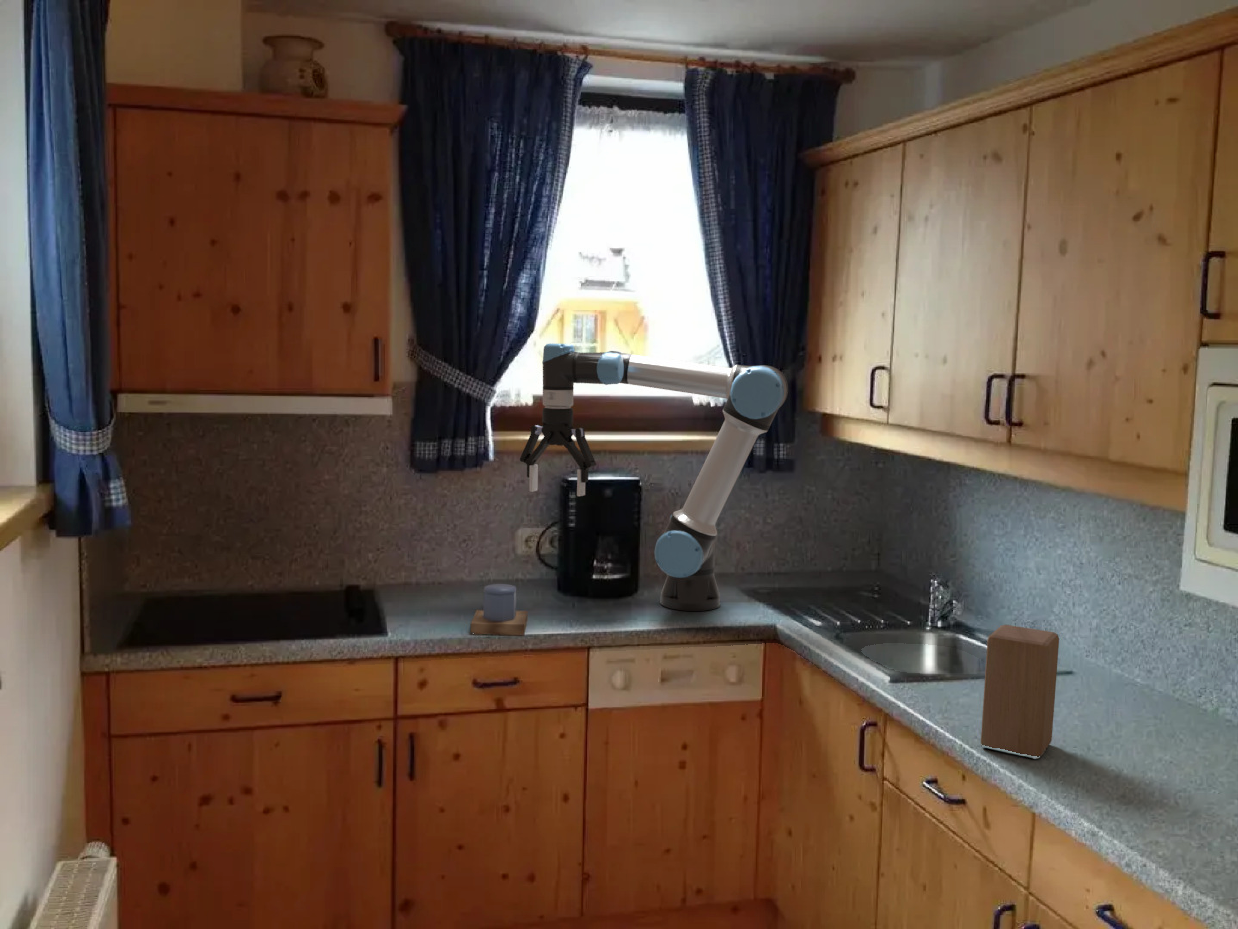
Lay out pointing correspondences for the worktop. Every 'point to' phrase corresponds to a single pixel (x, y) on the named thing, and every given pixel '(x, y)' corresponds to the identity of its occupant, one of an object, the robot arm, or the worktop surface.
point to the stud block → (499, 624)
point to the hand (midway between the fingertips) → (557, 493)
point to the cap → (499, 602)
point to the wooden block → (1019, 689)
